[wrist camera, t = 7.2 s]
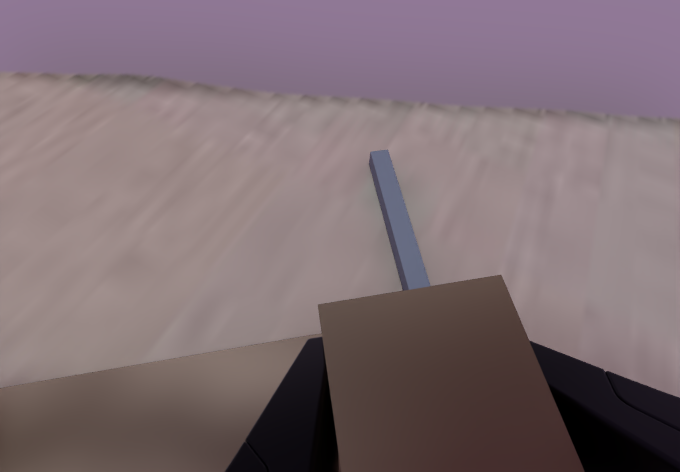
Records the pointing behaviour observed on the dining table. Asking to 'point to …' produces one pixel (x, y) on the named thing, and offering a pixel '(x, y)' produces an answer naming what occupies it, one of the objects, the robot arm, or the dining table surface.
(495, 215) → the dining table surface
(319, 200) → the dining table surface
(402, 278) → the lane rails
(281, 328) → the dining table surface
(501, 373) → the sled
